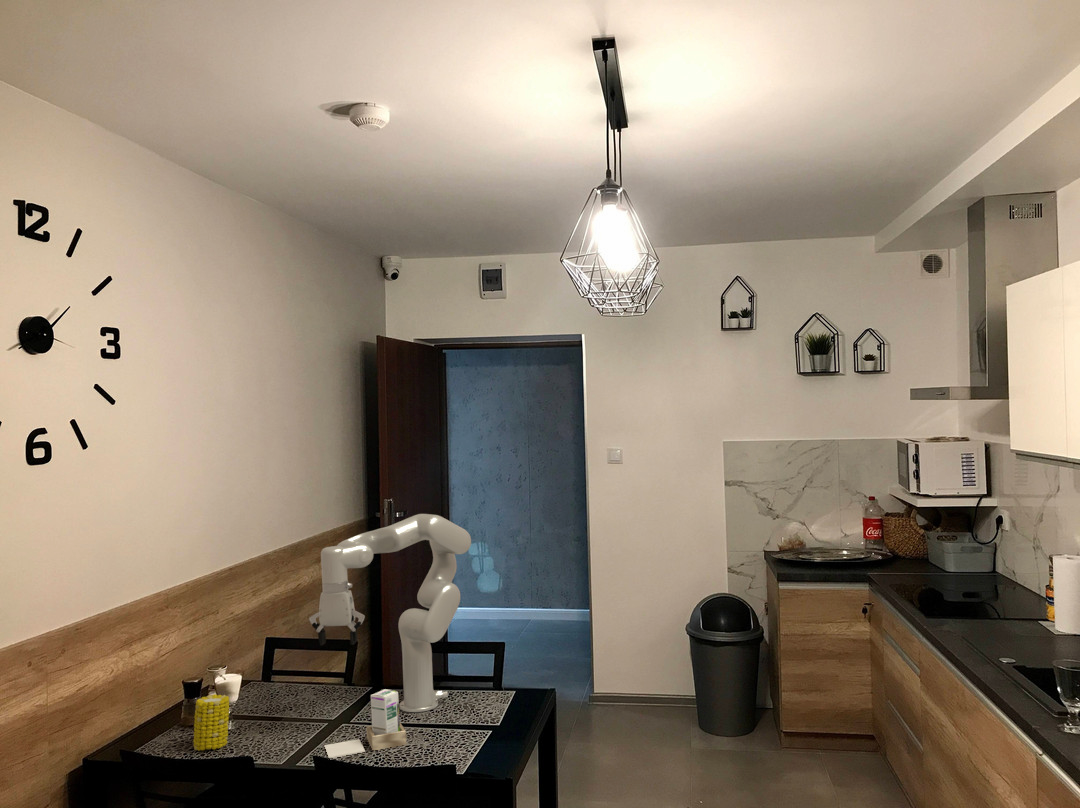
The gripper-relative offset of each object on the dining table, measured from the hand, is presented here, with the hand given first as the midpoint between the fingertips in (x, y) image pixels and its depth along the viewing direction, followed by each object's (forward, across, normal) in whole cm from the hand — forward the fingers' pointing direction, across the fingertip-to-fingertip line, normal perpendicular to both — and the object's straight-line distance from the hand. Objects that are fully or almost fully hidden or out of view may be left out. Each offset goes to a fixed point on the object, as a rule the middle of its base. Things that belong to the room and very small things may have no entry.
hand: (338, 643), depth 253 cm
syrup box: (+27, -17, +9) cm, 33 cm away
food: (+26, +35, +12) cm, 45 cm away
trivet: (+26, -6, +15) cm, 31 cm away
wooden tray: (+26, -17, +9) cm, 33 cm away
